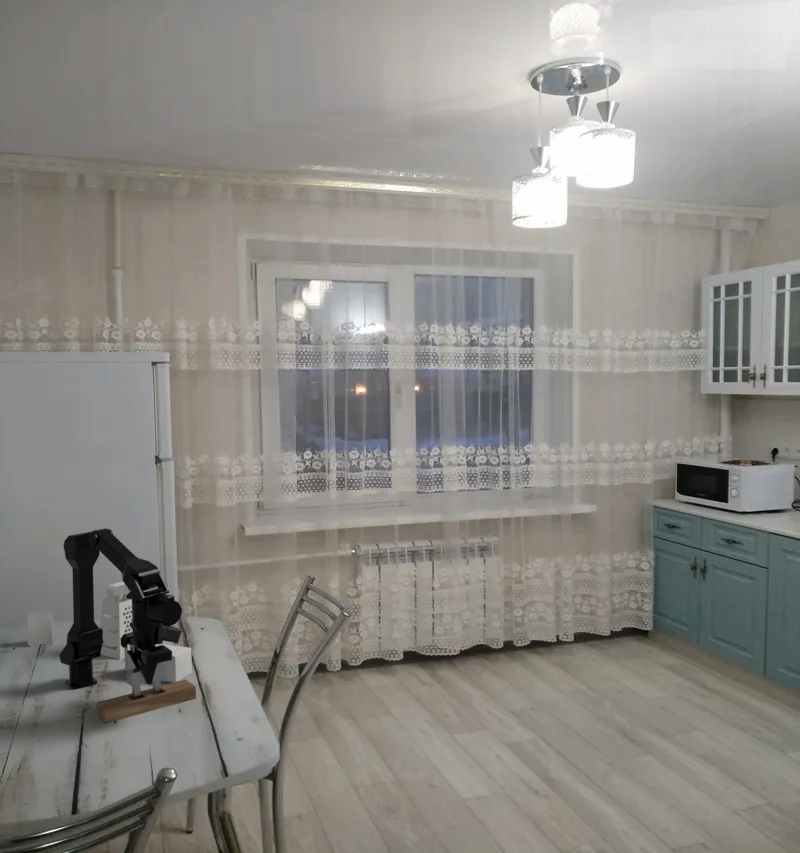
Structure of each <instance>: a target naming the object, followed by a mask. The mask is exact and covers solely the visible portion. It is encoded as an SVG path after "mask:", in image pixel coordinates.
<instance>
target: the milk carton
mask: <svg viewBox="0 0 800 853" xmlns="http://www.w3.org/2000/svg"><path fill="white" fill-rule="evenodd" d="M160 645H164V646H165V647H167V648H168V649H170V650H171V651H172V660H170V661H165V662H161V663H163V664H164V665H165V668H166V678H162V679H161V682H164V683H174V682H178V681H182V680H184V679H185V678H187V677H188V676H190V675H192V673H193V668H192V667H193V665H192V664H193V663H192V648H191V647H187V646H179V645H171V644H156V646H160ZM124 650H125V658H124V670H125V671H126V672H127V670H129V669H134V668H135V666H134V664H133V662H132V660H131V658H130V656H129V655H128V653H127V651H128V650H130V645H128V646H127V648H124Z"/></svg>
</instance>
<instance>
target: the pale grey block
mask: <svg viewBox="0 0 800 853" xmlns="http://www.w3.org/2000/svg"><path fill="white" fill-rule="evenodd" d="M53 614H54V613H53V609H48V610H47V609H46V610H38V611H28V612H27V625H26V626H27V628H26V629H27V646H28V645H38V644H51V645H54V642H55V634H54V631H55V630H54V616H53ZM53 641H54V642H53Z"/></svg>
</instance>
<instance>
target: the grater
mask: <svg viewBox="0 0 800 853" xmlns="http://www.w3.org/2000/svg"><path fill="white" fill-rule="evenodd" d="M124 585H125V584H124V582H123V580H122V581H119V582H115V583H111V584H108V586H107V587H106V590H105V591H106V597H105V598H103V599H102V602H101V611H100V612H101V613H100V620H99V628H102V630H103V642H104V643H103V644H102V649H101V653H100V656H101V655H102V656H105V657H109V658H114V659H116V660H123V659H125V650H124V648H123V647H122V646H121V639H120V638H121V637H122V636H123V635H124V634H126V633H131V632H133V628H131V627H130V622H132V599H128V598H126V596H127V595H128V594H129V593H130V592H131V591H130V590H129V589H128V588H127V593H121V594H118V595H116V592H115V591H116V589H117V588H118V587H121V586H124ZM125 586H126V585H125ZM129 608H130V609H129ZM128 645H129V644H128ZM115 647H116V648H115ZM114 648H115V649H114Z"/></svg>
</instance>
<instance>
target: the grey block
mask: <svg viewBox="0 0 800 853" xmlns="http://www.w3.org/2000/svg"><path fill="white" fill-rule="evenodd" d="M162 678H166V668H165V665H164V664H163V663H158V664H157V667H156V670H155V674H154V677H153V681H152V688H153V690H154V691H158V690H161V686H162V681H161V679H162ZM126 683H127V684H128V685H129V686H131V690H132V691H131V693H132V695H133V696H139V695H141V691H142V689H141V687H142V686H141V685H142V684H147V683H146V681H145V679H144V676H143V674H142V671H141V669H140V667H138V668H134V669H129V670H127V671H126Z"/></svg>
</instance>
